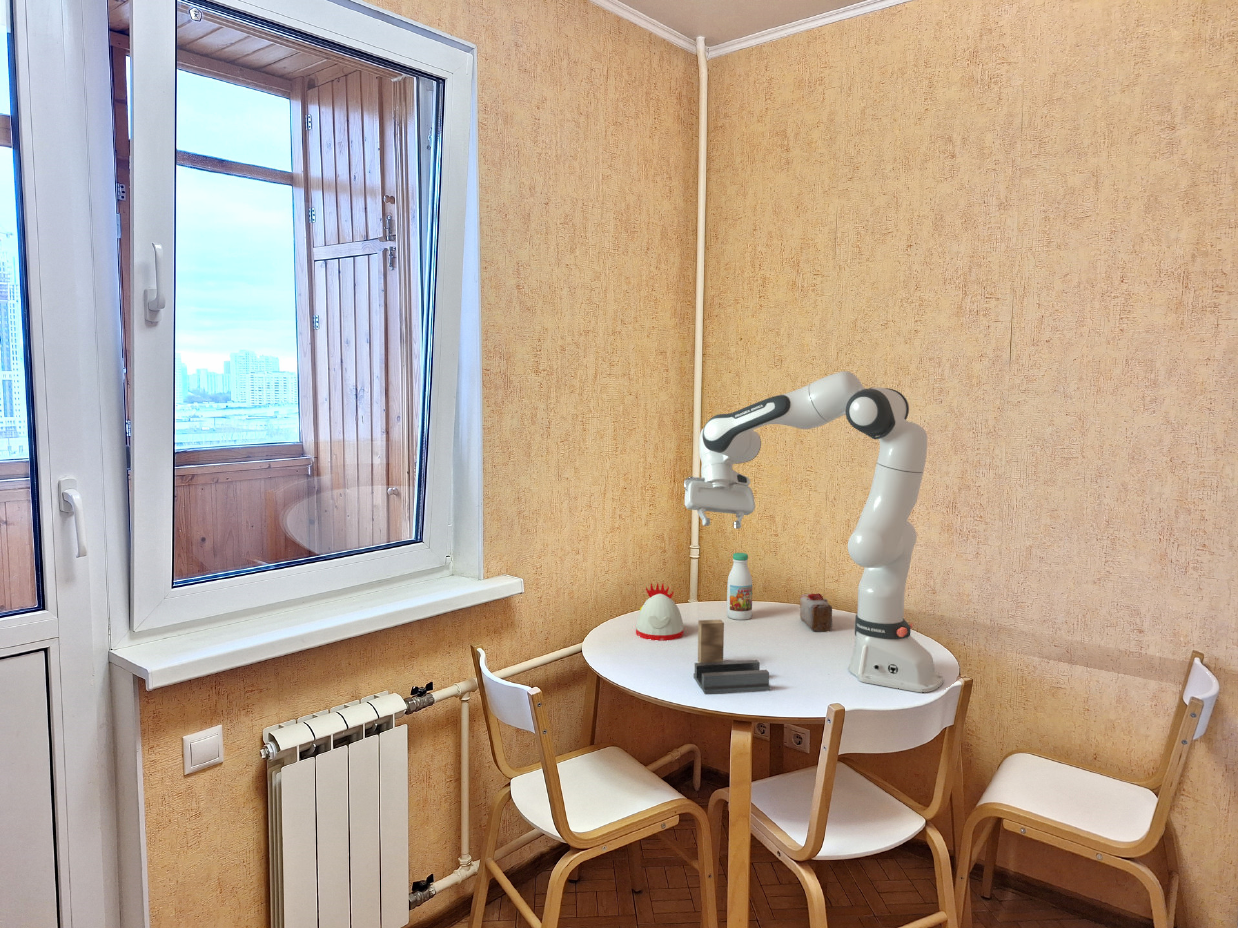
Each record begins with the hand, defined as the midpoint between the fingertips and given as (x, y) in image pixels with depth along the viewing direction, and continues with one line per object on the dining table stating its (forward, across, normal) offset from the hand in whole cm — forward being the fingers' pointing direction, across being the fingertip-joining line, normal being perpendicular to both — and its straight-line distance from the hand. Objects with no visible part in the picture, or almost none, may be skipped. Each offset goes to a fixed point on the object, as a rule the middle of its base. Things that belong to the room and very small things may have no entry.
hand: (722, 526), depth 218 cm
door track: (+43, -4, -5) cm, 43 cm away
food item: (+20, +41, +22) cm, 51 cm away
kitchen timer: (+22, -6, +32) cm, 40 cm away
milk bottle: (+15, +23, +36) cm, 46 cm away
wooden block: (+35, -3, +8) cm, 36 cm away
